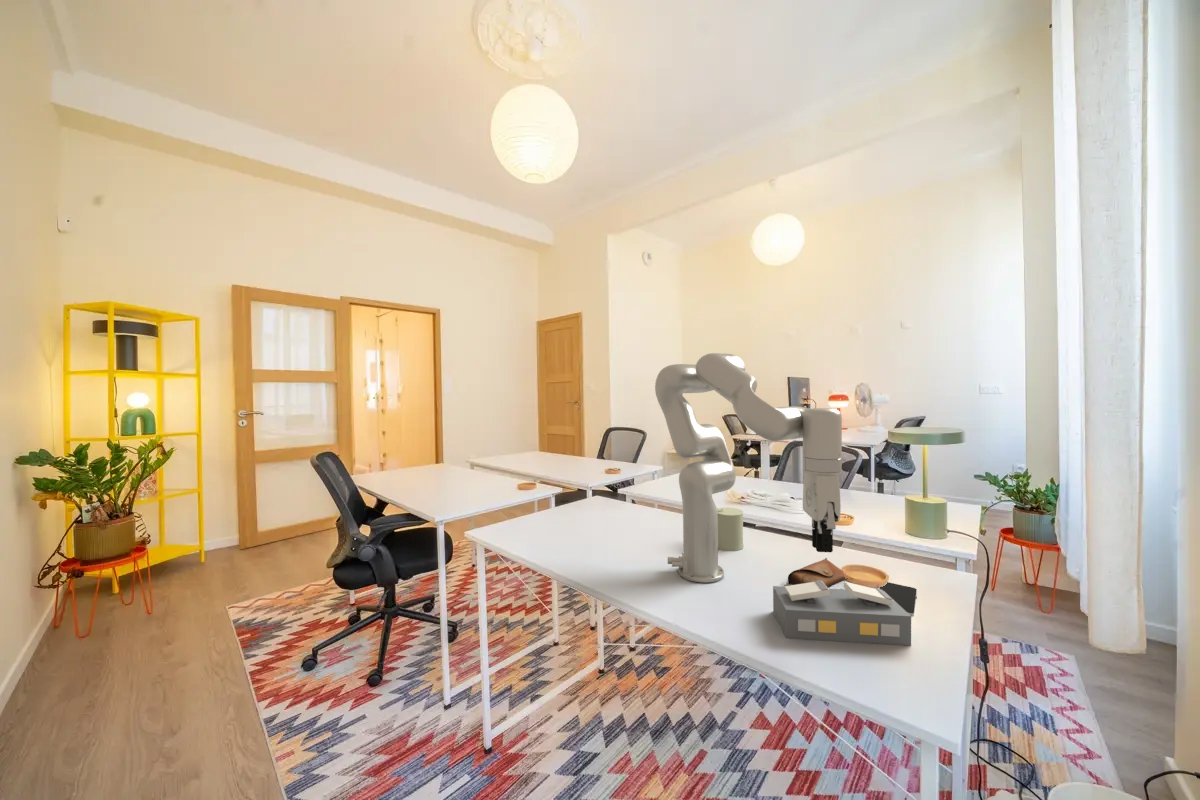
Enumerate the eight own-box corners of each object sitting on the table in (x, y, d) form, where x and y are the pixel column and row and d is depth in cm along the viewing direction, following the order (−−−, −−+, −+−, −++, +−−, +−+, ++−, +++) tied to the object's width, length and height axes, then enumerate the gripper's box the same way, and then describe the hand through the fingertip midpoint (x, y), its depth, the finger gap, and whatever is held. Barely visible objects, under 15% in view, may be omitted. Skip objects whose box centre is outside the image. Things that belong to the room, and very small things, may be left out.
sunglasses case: (818, 595, 111) (805, 568, 113) (795, 599, 116) (783, 573, 118) (854, 576, 121) (841, 552, 124) (831, 582, 126) (820, 558, 129)
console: (786, 638, 92) (786, 607, 92) (773, 611, 103) (773, 583, 103) (911, 646, 89) (911, 613, 89) (884, 617, 100) (884, 588, 100)
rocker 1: (791, 600, 95) (790, 594, 95) (786, 591, 100) (784, 585, 100) (830, 595, 94) (828, 588, 94) (822, 585, 98) (821, 579, 98)
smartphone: (873, 603, 105) (879, 580, 117) (873, 608, 105) (879, 584, 117) (914, 613, 100) (917, 588, 112) (914, 619, 100) (917, 593, 112)
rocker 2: (851, 596, 93) (853, 589, 93) (843, 586, 98) (844, 580, 98) (891, 605, 92) (893, 599, 92) (881, 595, 97) (883, 589, 97)
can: (713, 540, 151) (712, 505, 151) (740, 541, 150) (740, 506, 150) (716, 550, 142) (716, 513, 142) (746, 551, 141) (745, 514, 140)
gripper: (793, 459, 104) (793, 536, 104) (816, 472, 88) (816, 563, 89) (827, 459, 103) (827, 537, 103) (856, 472, 87) (856, 564, 88)
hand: (822, 548), depth 96 cm, fingers closed
